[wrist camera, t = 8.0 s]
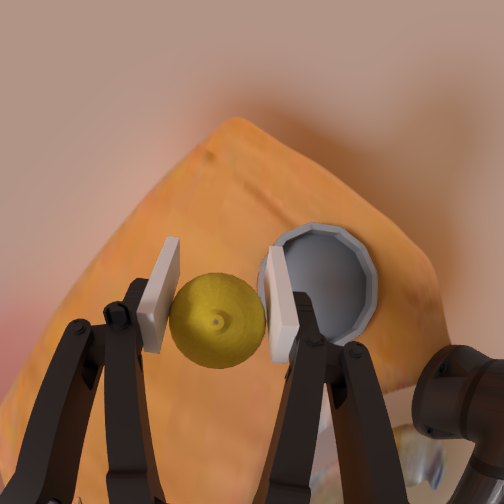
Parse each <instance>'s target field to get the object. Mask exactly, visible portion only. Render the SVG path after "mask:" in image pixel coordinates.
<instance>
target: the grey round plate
mask: <svg viewBox="0 0 504 504" xmlns="http://www.w3.org/2000/svg"><path fill="white" fill-rule="evenodd" d="M273 246H280V247H282V248H283V252H284V256H285V261H286V265H287V270H288V274H289V279H290V283H291V288H292V291H298V292H306V293H307V295H308V296H309V297H310V298H311V301H312V305H313V306H312V307H313V309H314V312H315V316H316V320H317V323H318V327H319V331H320V333H321V334H323V335H324V336H325V338H326V339H327V341H328V342H330V343H333V344H336V345H340V346H343V345H345V344H346V343H348V342H350V341H351V340H353V339H355V338H356V337H358V336H359V335H361V333H363V331H364V329H365V327H366V326H367V324H368V322H369V320H370V318H371V317H372V315H373V313H374V311H375V309H376V307H377V296H378V275H377V274H378V273H377V271H376V269H375V266H374V264H373V262H372V260H371V258H370V255H369V253H368V251H367V249H366V247H364V246H365V245H363V244H362V243H361V242H360V241H358V240H357V239H356V238H355V237H353V236H352V235H351V234H350V233H348V232H347V231H346V230H344V229H343V228H342V227H341V228H340V227H339V226H333V225H327V224H320V223H313V222H311V223H307V224H305V225H303V226H300V227H298V228H296V229H293V230H291V231H289V232H286V233H284V234H282V235H281V236H280V237H279V238H278V239H277V241H276V242H275V244H274V245H273ZM268 254H269V252H268V253H267V255H266V256H265V258H264V259H263V261H262V262H261V264H260V268H259V273H258V279H257V294H258V296H259V297H260V299H261V301H262V304H263V306H264V309H265V315H266V322H267V313H266V302H265V292H264V282H263V281H264V275H265V270H266V265H267V259H268Z"/></svg>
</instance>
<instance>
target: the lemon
mask: <svg viewBox="0 0 504 504" xmlns="http://www.w3.org/2000/svg"><path fill="white" fill-rule="evenodd" d="M169 327H170V331H171V335H172V338H173V340H174V342H175V344H176V346H177V348H178V349H179V350H180V351H181V352H182V353H183V354H184V356H185V357H186V358H188V359H189V360H191V361H193V362H194V363H196V364H198V365H201V366H204V367H207V368H214V369H224V368H229V367H233V366H236V365H238V364H240V363H242V362H244V361H245V360H247V359H248V358H249V357H250V356H252V355H253V354H254V352H255V351H256V350H257V348H258V347H259V346H260V344H261V342H262V339H263V337H264V334H265V328H266V315H265V309H264V306H263V304H262V301H261V299H260V297H259V296H258V294H257V293H256V292H255V290H254V289H253V288H252V287H251V286H250V285H249V284H247V283H246V282H245V281H244V280H242V279H239V278H237V277H235V276H233V275H229V274H224V273H208V274H205V275H201V276H198V277H196V278H194V279H193V280H191V281H189V282H188V283H186V284H185V285H184V286H183V287H182V288H181V289H180V290H179V291H178V293H177V295H176V297H175V298H174V300H173V302H172V305H171V309H170V313H169Z"/></svg>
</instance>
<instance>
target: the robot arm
mask: <svg viewBox="0 0 504 504" xmlns="http://www.w3.org/2000/svg"><path fill="white" fill-rule="evenodd" d="M179 276H180V237H170V236H167V239H166V241H165V243H164V245H163V248H162V250H161V252H160V255H159V257H158V259H157V262H156V264H155V266H154V269H153V271H152V274H151V276H150V278H149V279H143V278H136V279H135V280H134V281H133V282H132V283H131V284H130V286H129V288H128V291H127V292H126V295H125V297H124V299H123V301H116V302H112V303H110V304H108V305H107V306H106V307H105V308H104V311H103V314H104V317H105V321H106V324H102V325H93V326H91V324H90V322H89V321H87V320H85V319H76V320H73V321H72V322H70V323H69V324H68V326H67V327H66V329H65V331H64V333H63V336H62V338H61V340H60V342H59V344H58V346H57V349H56V351H55V353H54V355H53V358H52V360H51V362H50V365H49V367H48V370H47V372H46V375H45V377H44V380H43V382H42V385H41V387H40V390H39V393H38V395H37V398H36V401H35V404H34V407H33V410H32V413H31V416H30V419H29V422H28V425H27V428H26V432H25V435H24V439H23V442H22V446H21V450H20V454H19V458H18V462H17V466H16V471H15V473H14V475H13V476H12V478H11V479H10V481H9V482H8V484H7V485H6V487H5V489H4V490H3V492H2V493H1V495H0V504H72V501H73V498H74V493H75V488H76V481H77V475H78V469H79V463H80V458H81V453H82V448H83V443H84V438H85V434H86V430H87V425H88V421H89V417H90V413H91V409H92V405H93V401H94V398H95V394H96V390H97V387H98V383H99V380H100V377H101V373H102V370H103V367H104V365H105V370H104V404H105V428H106V443H107V454H108V463H109V471H108V473H107V475H106V485H107V491H108V497H109V503H110V504H168V503H166V500H165V496H164V493H163V490H162V487H161V484H160V481H159V476H158V471H157V466H156V461H155V456H154V450H153V445H152V438H151V432H150V425H149V418H148V411H147V403H146V394H145V384H144V373H143V360H142V355H141V351H142V348H143V347H144V351H145V352H151V353H158V354H159V353H160V349H161V345H162V341H163V337H164V333H165V329H166V325H167V321H168V317H169V313H170V309H171V305H172V302H173V298H174V294H175V291H176V287H177V283H178V280H179ZM263 282H264V292H265V302H266V313H267V323H268V334H269V344H270V355H271V363H287V360H288V358H289V362H290V365H289V368H288V371H287V373H286V376H285V379H286V380H285V385H284V389H283V394H282V398H281V402H280V407H279V411H278V415H277V419H276V423H275V427H274V431H273V435H272V439H271V443H270V447H269V451H268V455H267V458H266V462H265V466H264V469H263V473H262V476H261V480H260V483H259V487H258V490H257V493H256V495H255V497H254V500H253V502H252V504H309V503H310V498H311V489H310V487H309V480H310V475H311V470H312V464H313V458H314V452H315V446H316V440H317V434H318V427H319V420H320V412H321V404H322V396H323V387H324V383H326V385H327V391H328V397H329V402H330V408H331V414H332V420H333V426H334V432H335V438H336V445H337V452H338V459H339V466H340V474H341V482H342V490H343V498H344V504H410V503H409V502H408V499H407V494H406V488H405V483H404V478H403V474H402V469H401V465H400V460H399V456H398V452H397V447H396V443H395V439H394V435H393V431H392V428H391V424H390V420H389V417H388V413H387V409H386V406H385V402H384V399H383V395H382V392H381V389H380V385H379V382H378V379H377V376H376V373H375V369H374V366H373V363H372V360H371V357H370V354H369V351H368V349H367V348H366V347H365V346H364V345H363V344H361V343H359V342H356V341H351V342H348V343H346V344H345V346H340V345H336V344H333V343H330V342H328V341H327V339H326V338H325V336H324V335H323V334H321V333H320V331H319V327H318V323H317V320H316V316H315V312H314V309H313V307H312V306H313V305H312V301H311V298H310V297H309V296H308V295H307V293H306V292H298V291H292V288H291V283H290V279H289V274H288V270H287V265H286V261H285V256H284V252H283V248H282V247H280V246H270V248H269V254H268V259H267V265H266V270H265V275H264V281H263ZM412 420H413V424H414V426H415V428H416V429H417V431H418V432H419V433H421V434H422V435H424V436H427V437H429V438H431V439H437V440H438V439H461V438H462V439H467V440H469V441H472V442H474V443H476V444H475V447H474V450H473V453H472V455H471V457H470V459H469V462H468V464H467V466H466V468H465V471H464V473H463V475H462V477H461V479H460V481H459V483H458V485H457V487H456V489H455V491H454V493H453V495H452V496H451V498H450V500H449V501H448V502H447V503H446V504H504V360H503V359H491V358H489V357H487V356H486V355H484V354H482V353H481V352H479V351H477V350H475V349H474V348H472V347H469V346H466V345H450V346H447V347H445V348H443V349H442V350H440V351H439V352H438V353H437V354H436V355H434V357H433V358H432V359H431V360H430V361H429V363H428V364H427V365H426V367H425V369H424V370H423V372H422V374H421V376H420V378H419V380H418V383H417V385H416V388H415V391H414V395H413V400H412Z"/></svg>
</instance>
